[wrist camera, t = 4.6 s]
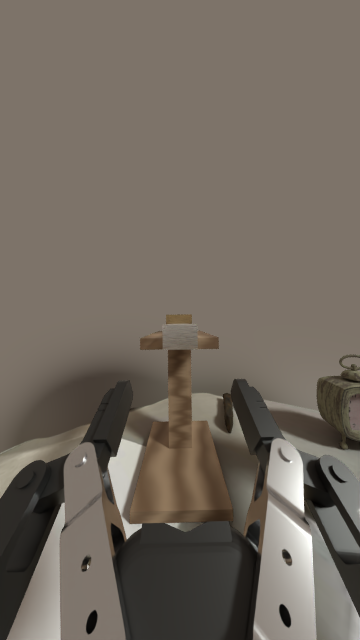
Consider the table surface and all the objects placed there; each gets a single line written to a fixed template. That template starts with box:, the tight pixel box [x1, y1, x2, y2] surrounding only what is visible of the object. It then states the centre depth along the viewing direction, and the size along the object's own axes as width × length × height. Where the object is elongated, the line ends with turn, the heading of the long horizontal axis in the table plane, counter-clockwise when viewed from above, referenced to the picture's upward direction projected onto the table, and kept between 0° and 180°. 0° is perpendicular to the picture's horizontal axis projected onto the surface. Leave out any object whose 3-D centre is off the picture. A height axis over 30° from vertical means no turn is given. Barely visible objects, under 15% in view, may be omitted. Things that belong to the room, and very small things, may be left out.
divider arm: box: [163, 315, 198, 350], centre depth 30 cm, size 7×32×5 cm, turn 1°
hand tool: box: [223, 393, 233, 433], centre depth 52 cm, size 19×4×5 cm, turn 160°
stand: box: [130, 331, 233, 524], centre depth 36 cm, size 18×22×32 cm
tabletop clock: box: [317, 355, 360, 449], centre depth 40 cm, size 14×9×25 cm, turn 82°
